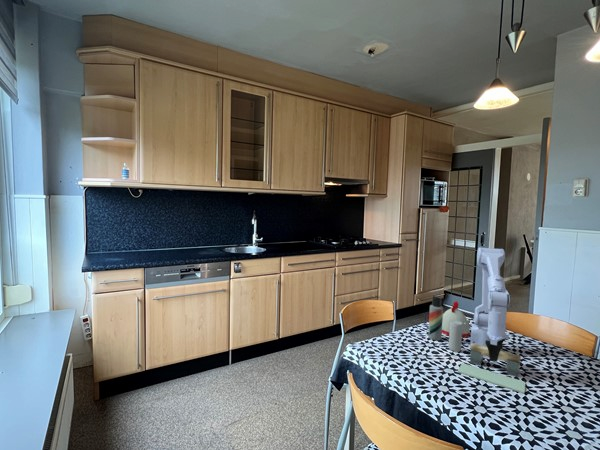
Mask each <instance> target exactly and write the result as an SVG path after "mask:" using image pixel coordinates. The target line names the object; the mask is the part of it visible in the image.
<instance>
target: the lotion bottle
mask: <svg viewBox="0 0 600 450" xmlns="http://www.w3.org/2000/svg"><path fill="white" fill-rule="evenodd" d="M431 302H432V303H431V304H430V305H429V318H428V334H427V335H428V339H430V340H433V341H441V340H442V335H443V333H442V320H443V314H444V307H443V306H442V297H441V296H437V295H433V296H432V301H431Z"/></svg>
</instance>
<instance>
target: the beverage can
mask: <svg viewBox="0 0 600 450" xmlns="http://www.w3.org/2000/svg"><path fill="white" fill-rule="evenodd" d="M462 327H463V325H462V323H461V322H459V321H451V322H450V333H449V335H448V336H449V337H448V350H450V351H452V352H455V353H459V352H461V351H462V343H463V342H462V340H463V339H462V338H463V337H462Z"/></svg>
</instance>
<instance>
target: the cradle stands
mask: <svg viewBox="0 0 600 450" xmlns="http://www.w3.org/2000/svg"><path fill="white" fill-rule="evenodd" d="M483 356H484V355H481V352H479V351H475V350H472V349H471V348H470V358H469V363H470V364H473V365H476V366H481V365H482V363H483V358H484V357H483ZM505 374H506V375H510V376H513V377H517V378H519V375H520V365H519V362H516V361H512V360H508V359H507V362H506V373H505Z"/></svg>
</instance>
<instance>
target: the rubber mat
mask: <svg viewBox="0 0 600 450" xmlns="http://www.w3.org/2000/svg"><path fill="white" fill-rule="evenodd" d="M457 373H458V374H462V375H463V376H464V375H465V376H468V377H470V378H473V379H474V378H475V379H476V380H477V379H478V380H479V381H483V382H487V383H490V384H493V385H496V386H500V387H501V388H505V389H508V390H511V391H515V392H518V393H519V394H520V393H521V394H525V392H526V391H525V390H526V381H523V380H520V379H517V378H513V377H510V376H507V375H503V374H500V373H497V372H493V371H490V370H487V369H483V368H480V367H477V366H474V365H470V364H466V363H464V362H462V363H461V365H460V366H459V367H458V370H457Z"/></svg>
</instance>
